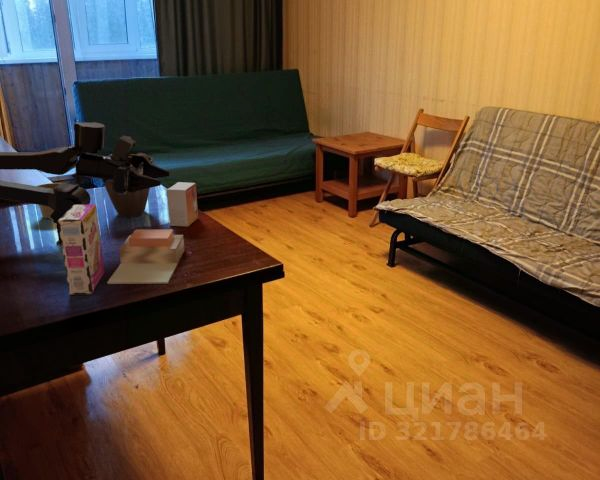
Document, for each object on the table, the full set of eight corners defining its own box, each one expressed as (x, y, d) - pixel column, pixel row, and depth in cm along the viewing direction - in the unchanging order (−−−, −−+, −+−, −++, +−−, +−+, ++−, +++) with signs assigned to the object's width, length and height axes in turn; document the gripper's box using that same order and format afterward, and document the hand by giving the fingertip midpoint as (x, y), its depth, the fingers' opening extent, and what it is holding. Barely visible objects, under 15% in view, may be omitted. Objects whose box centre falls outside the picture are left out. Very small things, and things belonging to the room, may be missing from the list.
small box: (188, 227, 154) (185, 190, 150) (169, 226, 155) (165, 189, 151) (198, 218, 161) (196, 182, 157) (180, 216, 162) (177, 181, 158)
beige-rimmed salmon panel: (129, 246, 130) (128, 238, 129) (136, 237, 136) (135, 229, 135) (168, 246, 130) (167, 238, 129) (173, 237, 136) (172, 229, 135)
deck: (121, 265, 130) (118, 249, 129) (131, 250, 138) (129, 235, 137) (177, 264, 130) (175, 248, 129) (184, 250, 138) (183, 234, 137)
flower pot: (78, 214, 165) (74, 185, 162) (50, 223, 158) (44, 193, 154) (58, 208, 170) (53, 181, 166) (30, 217, 162) (24, 188, 159)
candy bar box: (93, 294, 116) (82, 220, 110) (69, 296, 116) (56, 220, 110) (106, 272, 126) (96, 202, 120) (83, 273, 126) (72, 203, 120)
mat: (107, 283, 121) (107, 282, 121) (121, 265, 130) (120, 263, 130) (167, 283, 121) (167, 281, 121) (177, 264, 130) (177, 263, 130)
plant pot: (149, 202, 175) (144, 152, 169) (164, 215, 163) (159, 161, 157) (100, 210, 168) (92, 157, 162) (111, 224, 156) (104, 168, 150)
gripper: (89, 142, 126) (159, 154, 127) (116, 128, 144) (176, 139, 145) (87, 189, 130) (154, 200, 131) (113, 170, 148) (172, 181, 148)
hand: (165, 178), depth 139 cm, fingers open, 9 cm apart
